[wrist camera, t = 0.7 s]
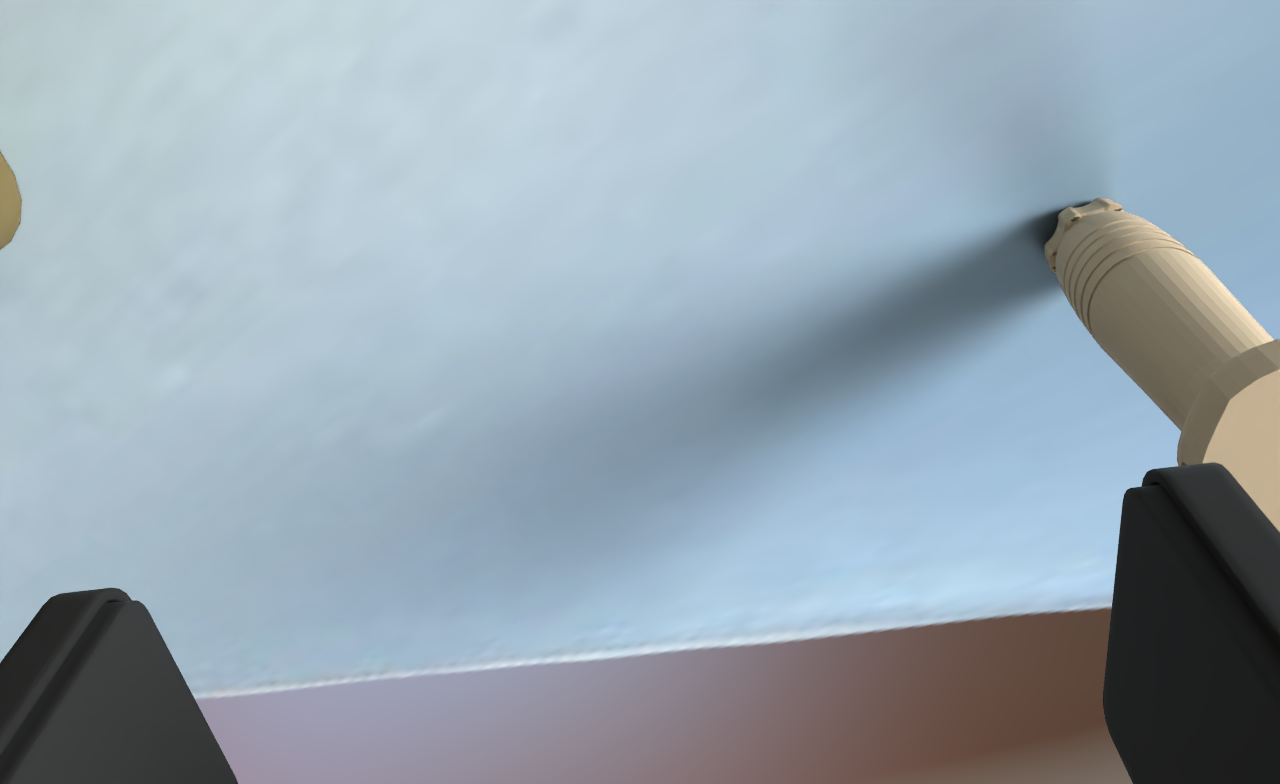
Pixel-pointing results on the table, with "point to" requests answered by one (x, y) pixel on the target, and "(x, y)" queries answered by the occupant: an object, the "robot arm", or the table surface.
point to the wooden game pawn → (8, 203)
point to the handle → (1177, 340)
